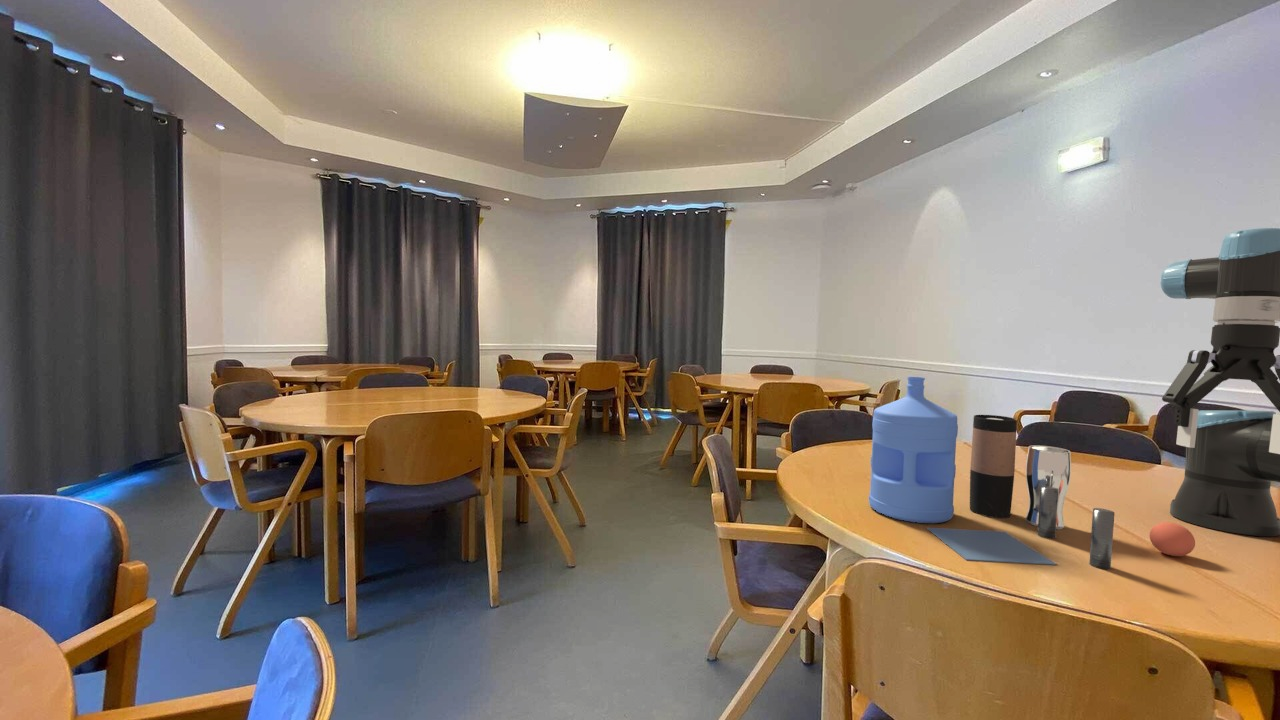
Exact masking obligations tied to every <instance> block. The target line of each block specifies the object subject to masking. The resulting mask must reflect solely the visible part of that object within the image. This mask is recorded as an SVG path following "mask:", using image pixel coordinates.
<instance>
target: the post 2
mask: <svg viewBox="0 0 1280 720" xmlns="http://www.w3.org/2000/svg"><path fill="white" fill-rule="evenodd" d="M1091 522H1092V523H1091V532H1090V533H1091V534H1090V549H1089V551H1090V552H1089V565H1090V566H1092V567H1094V568H1097V569H1101V570H1111V567H1112V556H1113V555H1112V554H1113V543H1114V542H1113V541H1114V540H1113V539H1114V525H1115V512H1114V511H1113V510H1110V509H1106V508H1100V507H1093V508H1092V517H1091Z"/></svg>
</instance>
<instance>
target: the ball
mask: <svg viewBox="0 0 1280 720" xmlns="http://www.w3.org/2000/svg"><path fill="white" fill-rule="evenodd" d="M1149 540H1150V542H1151V544H1152V546H1153V547H1154V548H1155V549H1157V550H1158V551H1159V552H1161V553H1162V554H1165V555H1167V556H1170V555H1171V556H1172V557H1183V556H1186V555H1189V554H1190V553H1192V552H1193V551H1194V549H1195V546H1196V539H1195V537H1194V535H1193V534H1192V532H1191V531H1190V530H1189V529H1188V528H1186V527H1185V526H1183V525H1181V524H1179V523H1175V522H1166V521H1165V522H1160V523H1157V524H1155V525H1154V526H1152V528H1151V529H1150V532H1149Z"/></svg>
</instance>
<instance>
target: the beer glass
mask: <svg viewBox="0 0 1280 720" xmlns="http://www.w3.org/2000/svg"><path fill="white" fill-rule="evenodd" d="M1027 448H1028V449H1027V456H1026V462H1025V480H1026V485H1027V487H1026V488H1027V493H1028V508H1027V512H1026V514H1025V515H1026V516H1025V522H1026V523H1027V524H1029V525H1031V526H1034V527H1037V528H1038V519H1039V503H1040V487H1041V486H1049V487H1054V488H1057V489H1058V502H1057V518H1056V531H1057V530H1063V529H1064V528H1065V521H1064V513H1063V509H1064V503H1065V500H1066V497H1067V493H1068V490H1069V486H1070V481H1071V474H1072V473H1071V472H1072V461H1071V460H1072V459H1071V451H1070V450H1068V449H1066V448H1061V447H1056V446H1048V445H1035V444H1034V445H1029V446H1028V447H1027Z"/></svg>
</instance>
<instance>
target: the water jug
mask: <svg viewBox="0 0 1280 720" xmlns="http://www.w3.org/2000/svg"><path fill="white" fill-rule="evenodd" d="M906 379H907V385H906V388H907V391H906V395H905V396H904V397H902V398H900V399H897V400H894V401H892V402H888V403H886V404H883V405H880V406H878V407H876V408H875V409H874V410H873V416H872V425H871V426H872V428H871V429H872V441H871V442H872V445H871V446H872V447H871V455H870V456H871V457H870V487H869V489H870V490H869V493H868V494H869V495H868V503H869V506H870V507H871V509H873V510H874V511H875V510H876V512H877V513H879V514H881V513H882V514H881V515H883V514H884V515H883V516H886V517H888V516H889V517H888V518H891V517H892V519H894V520H895V519H896V520H900V521H903V520H904V522H909V521H910V522H909V523H915V522H917V523H918V524H941V523H945V522H948V521H950V520H951V519H952V518H953V516H954V512H955V507H954V491H955V478H956V469H957V468H956V453H957V452H956V451H957V450H956V449H957V437H958V433H959V432H958V430H959V429H958V428H959V424H958V416H957V415H956V414H955V413H953V412H952V411H949V410H948V409H946V408H945V407H942V406H940V405H938V404H937V403H935V402H933V401H931V400H929V399H927V398H926V397H925V395H924V392H925V391H924V390H925V384H924V382H925V379H926V378H925V377H919V376H907V378H906Z"/></svg>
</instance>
